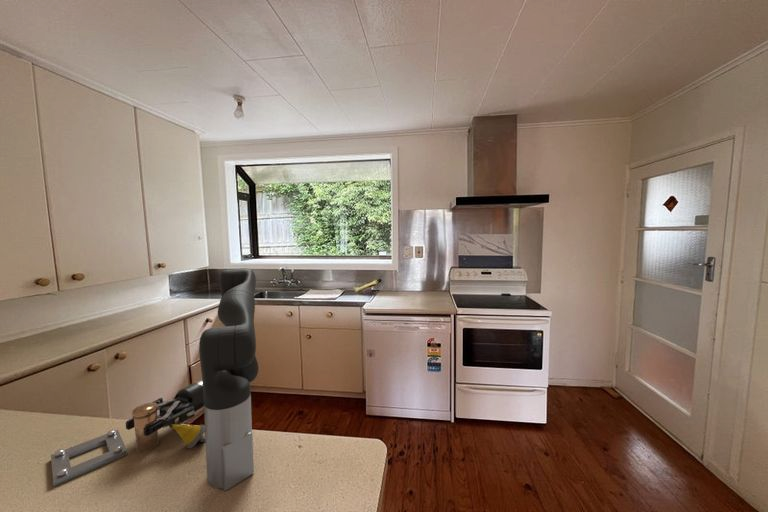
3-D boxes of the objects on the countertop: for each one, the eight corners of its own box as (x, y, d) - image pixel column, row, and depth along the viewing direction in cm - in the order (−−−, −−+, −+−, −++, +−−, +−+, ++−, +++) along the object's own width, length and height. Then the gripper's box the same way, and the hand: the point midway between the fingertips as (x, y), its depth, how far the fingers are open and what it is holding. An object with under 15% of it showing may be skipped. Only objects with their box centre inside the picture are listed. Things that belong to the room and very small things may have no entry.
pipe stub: (162, 444, 75) (159, 407, 75) (137, 456, 71) (134, 416, 71) (157, 436, 78) (154, 400, 78) (132, 447, 75) (129, 409, 74)
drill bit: (203, 453, 73) (166, 436, 69) (196, 453, 76) (159, 436, 72) (217, 430, 77) (182, 412, 73) (209, 430, 80) (176, 414, 76)
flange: (127, 454, 72) (126, 447, 72) (53, 487, 63) (52, 478, 63) (118, 433, 80) (117, 426, 79) (51, 459, 70) (50, 451, 70)
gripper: (181, 378, 90) (116, 408, 74) (216, 386, 85) (154, 420, 70) (182, 402, 91) (117, 437, 75) (217, 411, 86) (156, 450, 70)
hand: (135, 429), depth 72 cm, fingers open, 6 cm apart
